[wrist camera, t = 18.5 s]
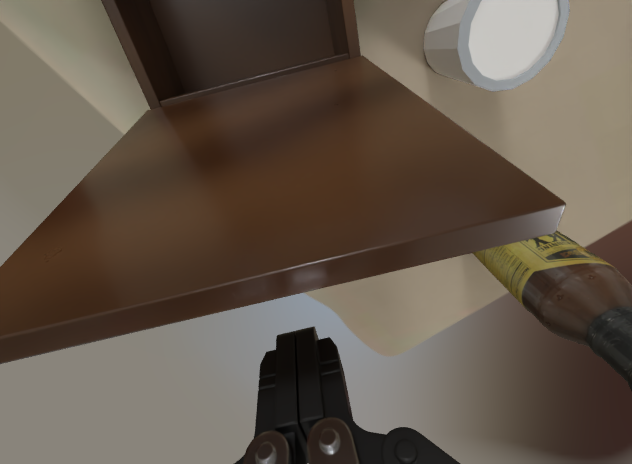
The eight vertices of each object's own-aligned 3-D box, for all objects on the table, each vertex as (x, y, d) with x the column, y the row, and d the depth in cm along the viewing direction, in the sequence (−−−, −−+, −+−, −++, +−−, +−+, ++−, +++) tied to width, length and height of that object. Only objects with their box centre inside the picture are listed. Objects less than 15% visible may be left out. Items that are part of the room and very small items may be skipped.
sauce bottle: (526, 206, 33) (796, 367, 16) (491, 254, 36) (689, 438, 18) (477, 188, 32) (716, 343, 14) (444, 239, 34) (612, 424, 17)
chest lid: (-89, 359, 6) (-52, 377, 7) (568, 202, 6) (556, 233, 6) (146, 110, 19) (153, 123, 19) (362, 55, 19) (364, 69, 19)
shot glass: (500, 70, 26) (566, 72, 20) (421, 96, 27) (462, 106, 21) (500, -30, 23) (577, -64, 17) (409, 1, 24) (453, -20, 17)
